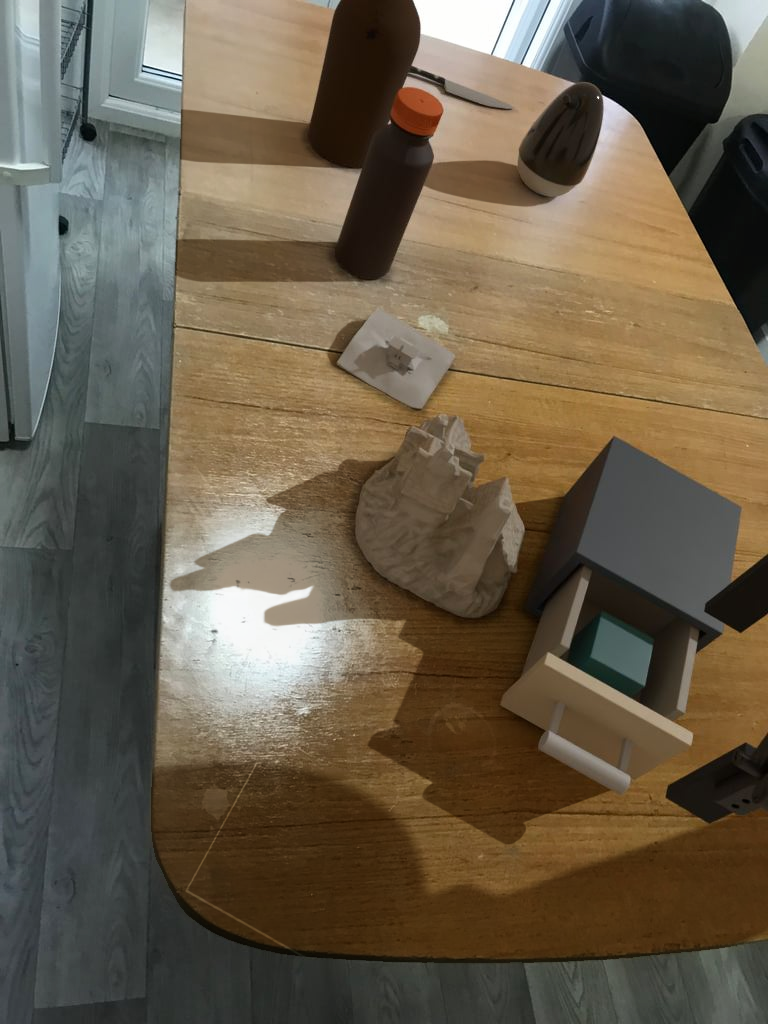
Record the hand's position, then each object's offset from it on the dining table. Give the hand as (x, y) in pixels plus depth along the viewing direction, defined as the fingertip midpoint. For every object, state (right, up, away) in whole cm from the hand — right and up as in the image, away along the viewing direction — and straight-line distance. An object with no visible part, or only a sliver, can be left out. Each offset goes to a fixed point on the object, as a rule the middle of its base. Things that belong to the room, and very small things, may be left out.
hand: (706, 703), depth 49 cm
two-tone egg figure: (+4, +59, +73) cm, 94 cm away
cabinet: (+3, +4, +32) cm, 33 cm away
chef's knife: (-7, +76, +81) cm, 112 cm away
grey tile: (-18, +27, +41) cm, 52 cm away
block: (-1, -3, +23) cm, 23 cm away
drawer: (-2, -4, +23) cm, 23 cm away
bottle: (-22, +40, +49) cm, 67 cm away
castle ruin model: (-14, +9, +29) cm, 34 cm away
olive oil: (-25, +60, +62) cm, 90 cm away
